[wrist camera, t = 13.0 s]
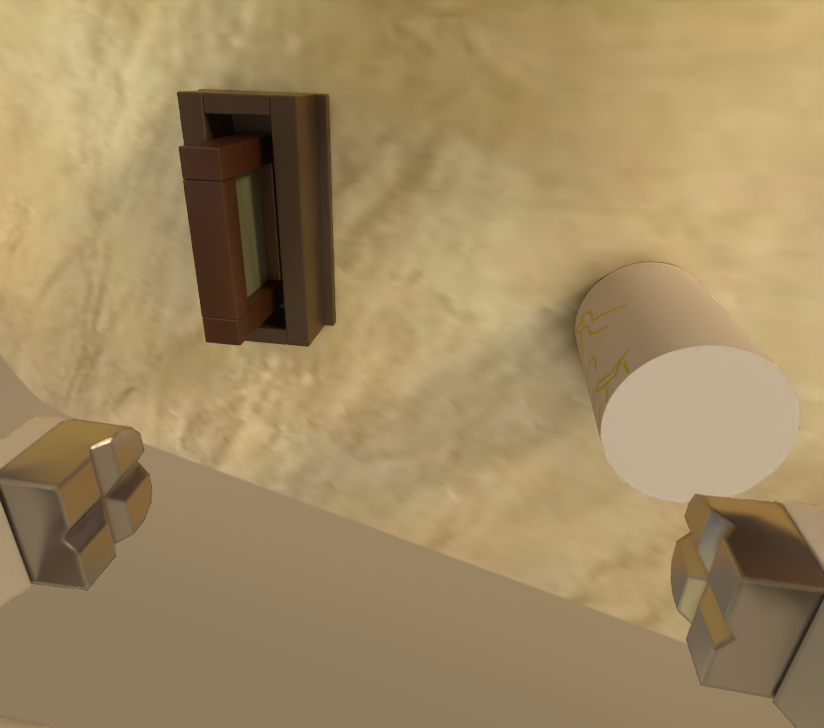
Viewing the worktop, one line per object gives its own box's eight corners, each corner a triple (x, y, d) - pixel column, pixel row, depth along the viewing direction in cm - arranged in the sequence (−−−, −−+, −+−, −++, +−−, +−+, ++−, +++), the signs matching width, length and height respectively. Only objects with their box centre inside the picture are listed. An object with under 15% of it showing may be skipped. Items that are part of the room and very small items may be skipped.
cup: (569, 272, 36) (594, 357, 25) (714, 252, 34) (807, 333, 23) (580, 389, 39) (605, 508, 28) (712, 376, 37) (792, 497, 26)
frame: (279, 132, 34) (218, 148, 27) (290, 296, 38) (240, 346, 31) (246, 131, 34) (177, 146, 27) (261, 293, 39) (205, 343, 32)
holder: (328, 93, 33) (306, 96, 30) (335, 322, 39) (318, 347, 36) (202, 89, 34) (165, 90, 30) (228, 313, 40) (201, 337, 37)
